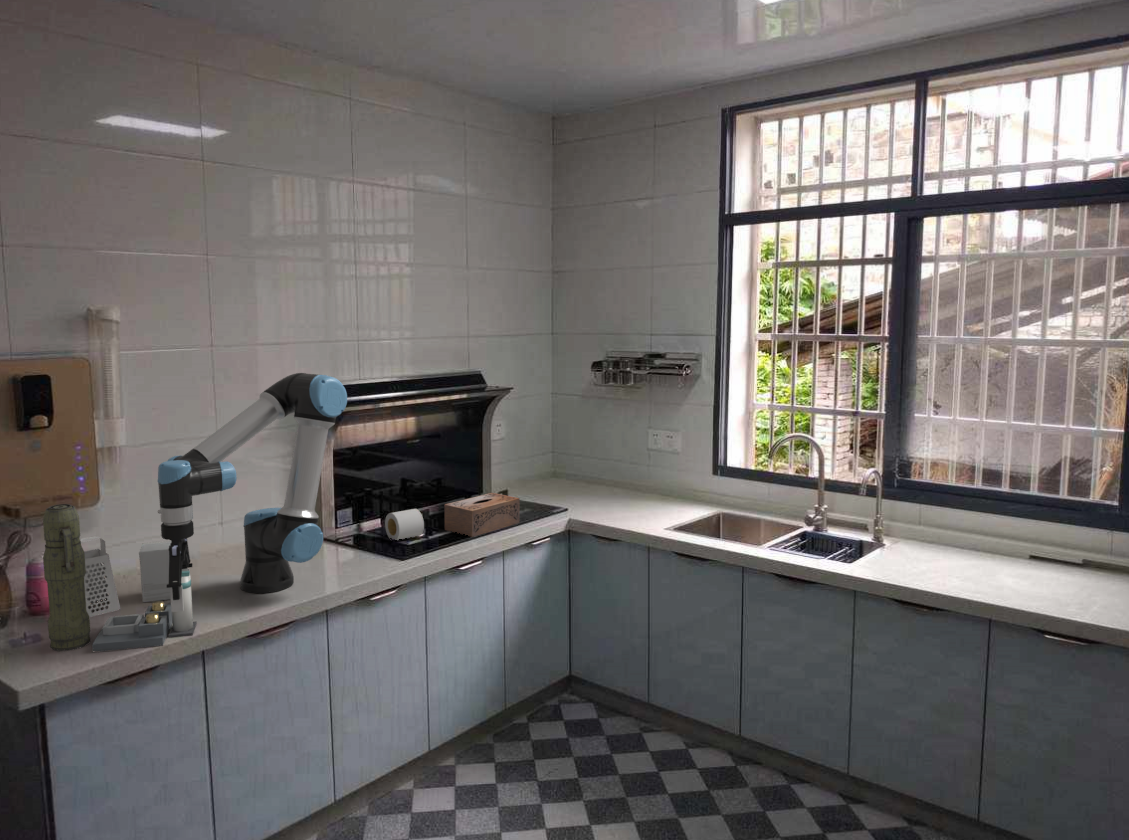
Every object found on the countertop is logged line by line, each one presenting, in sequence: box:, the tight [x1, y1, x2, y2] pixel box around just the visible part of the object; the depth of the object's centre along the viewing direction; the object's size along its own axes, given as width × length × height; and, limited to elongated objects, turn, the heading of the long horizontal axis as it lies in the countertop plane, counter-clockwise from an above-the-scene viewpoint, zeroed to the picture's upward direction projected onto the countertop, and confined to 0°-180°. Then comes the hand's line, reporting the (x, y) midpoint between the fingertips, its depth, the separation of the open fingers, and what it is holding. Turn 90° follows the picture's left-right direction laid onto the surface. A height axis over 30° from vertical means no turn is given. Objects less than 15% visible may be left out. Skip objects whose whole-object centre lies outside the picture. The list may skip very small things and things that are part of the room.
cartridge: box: [172, 570, 194, 632], centre depth 218 cm, size 5×5×15 cm
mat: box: [168, 621, 198, 638], centre depth 219 cm, size 6×8×1 cm
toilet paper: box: [384, 508, 425, 541], centre depth 304 cm, size 10×10×10 cm
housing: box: [91, 603, 173, 652], centre depth 215 cm, size 16×16×5 cm
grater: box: [80, 535, 121, 618], centre depth 231 cm, size 10×10×20 cm
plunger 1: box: [151, 600, 165, 611], centre depth 220 cm, size 3×3×4 cm
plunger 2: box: [146, 613, 159, 624], centre depth 212 cm, size 3×3×4 cm
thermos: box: [42, 503, 91, 652], centre depth 207 cm, size 9×12×35 cm
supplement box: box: [138, 540, 172, 603], centre depth 243 cm, size 9×9×15 cm
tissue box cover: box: [444, 492, 521, 538], centre depth 321 cm, size 26×14×10 cm, turn 141°
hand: (181, 601), depth 218 cm, fingers open, 13 cm apart
